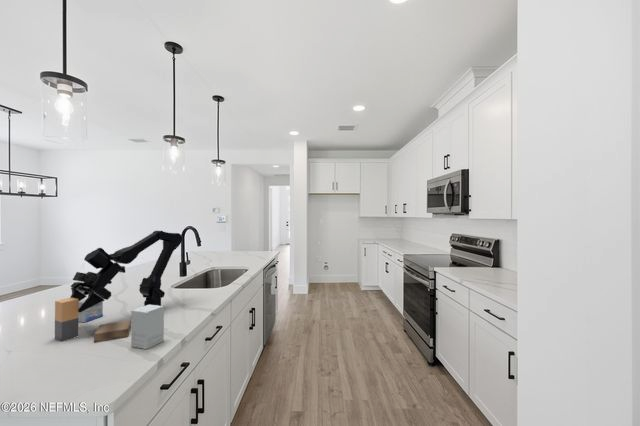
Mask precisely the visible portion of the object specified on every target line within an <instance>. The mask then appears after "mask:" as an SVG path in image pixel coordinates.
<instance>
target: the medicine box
mask: <svg viewBox="0 0 640 426" xmlns="http://www.w3.org/2000/svg"><path fill="white" fill-rule="evenodd" d="M85 300H86V299H82V300H81V301H79V308H80V307H81V305H82V304H83V303H84V302H85ZM103 303H104V301H102V302H100V303H98V304H96V305H94V306H92V307H90V308H88V309H86V310H84V311H82V312H79V323H88V322H91V321H93V319H94V320H96V319H98V318H102V317H103V314H104V313H103V310H104V309H103V308H104V307H103V306H104V305H103Z"/></svg>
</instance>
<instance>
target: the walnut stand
mask: <svg viewBox="0 0 640 426" xmlns="http://www.w3.org/2000/svg"><path fill="white" fill-rule="evenodd" d="M130 333H131V319H130V320H122V321H115V322H109V323H108V322H107V323H104V324H102V323H101V324H100V325H99V326H98V328H97V329H96V331H95V332H94V334H93V343H99V342H106V341H111V340H118V339H124V338H128V337H129V334H130Z"/></svg>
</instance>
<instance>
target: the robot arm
mask: <svg viewBox="0 0 640 426" xmlns="http://www.w3.org/2000/svg"><path fill="white" fill-rule="evenodd" d="M159 241H162V249H161V251H160V253H159V257H158V258H157V259H156V262H155V265H154V267H153V268H152V271H151V273H150V275H148V277H143V278H142V280H141V283H140V284H139V288H138V289H139V290H138V291H139V293H140V294H141V295H142V297H143V298H145V300H144V303H143V306H146V305H149V304H150V305H157V306H162V298H164V297H165V294H166V292H165V291H164V290H162V289H161V286H162V276H163V274H164V273H165V270H166V268H167V266H168V264H169V262H170V260H171V257H172V255H173V253H174V251H175V250H176V249H178V247H179V246H180V245H181V243H182V242H183V236H182V234H181V233H178V232H167V231H163V230H155V231H153V232H151V233H149V234H148V235H146V236H145V237H143V238H142V239H141V240H138V241H137V242H135V243H133V244H132V245H130V246H126V247H123V248H121V249H118V250H116V251H114V253H110V254H109V253H107V252H106V251H105V249H104V248H102V247H98V248H96V249H95V250H92V251H91V252H89V253H87V254H86V255H85V257H84V259H83V260H84V261H85V262H87V263H88V264H89V265H90V266H92V267H93V268H94V269H96V270H98V269H100V270H99V271H98V272H92V271H87V272H79V271H76V273H75V274H74V276H73V278H72V281H74V282H73V283H72V284H71V285H70V290H71V295H70V297H69V298H76V299H79V302H80V301H83V300H85V302H84V303H83V304H82V305H81V307H80V308H79V309H78V312H82V311H84V310H86V309H88V308H90V307H92V306H94V305H96V304H98V303H100V302H102V301H103V302H104V301H105V300H107V301H108V300H109V299H110V298H111V297H112V292H111V290H108V289H107V288H105V287H107V285H111V284H112V283H113V281H112V280H113V279H114V278H115V276H117V275H118V274H119V273H126V266H125V265H128V264H131V263H132V262H133V261H134V260H135V259H136V258H138V256H139V254H140V253H142V252H143V251H145V250H146V249H148V248H149V247H150V246H153V244H156V243H157V242H159ZM120 264H123V265H120ZM75 281H76V282H75ZM87 295H88V296H87ZM85 298H86V299H85Z"/></svg>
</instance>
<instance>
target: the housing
mask: <svg viewBox="0 0 640 426" xmlns="http://www.w3.org/2000/svg"><path fill="white" fill-rule="evenodd" d="M79 302H80V301H79V299H76V298H70V297H68V298H64V299H63V298H62V299H58V300H55V301H54V340H57V341H58V340H59V342H61V343H62V342H65V341H69V340H71V338H72V339H74V337H75V338H77V336H78V337H79V324H80V322H79V312H78V309H79ZM68 339H69V340H68Z"/></svg>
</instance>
